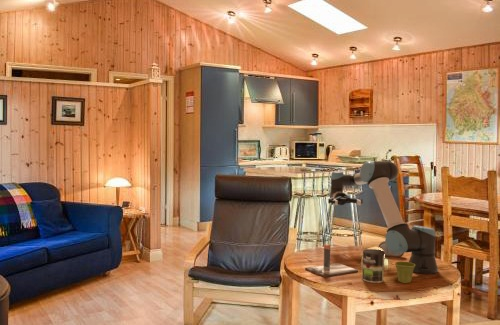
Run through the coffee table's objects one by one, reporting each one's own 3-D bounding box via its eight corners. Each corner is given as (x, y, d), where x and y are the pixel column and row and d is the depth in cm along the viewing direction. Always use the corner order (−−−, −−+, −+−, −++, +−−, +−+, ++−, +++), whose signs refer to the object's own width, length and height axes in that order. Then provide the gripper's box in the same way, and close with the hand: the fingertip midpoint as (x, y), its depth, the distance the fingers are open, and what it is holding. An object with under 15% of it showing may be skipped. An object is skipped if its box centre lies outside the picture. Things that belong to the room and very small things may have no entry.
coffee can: (376, 284, 234) (377, 255, 233) (358, 279, 241) (358, 251, 241) (387, 280, 241) (388, 251, 240) (369, 275, 249) (370, 248, 248)
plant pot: (414, 285, 233) (415, 267, 233) (393, 283, 237) (394, 265, 236) (414, 279, 242) (415, 262, 242) (394, 277, 245) (395, 260, 245)
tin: (404, 256, 289) (405, 242, 288) (404, 258, 286) (404, 243, 285) (378, 254, 294) (378, 240, 294) (377, 255, 291) (378, 241, 291)
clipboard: (358, 271, 255) (358, 267, 255) (324, 277, 244) (324, 273, 244) (338, 264, 269) (338, 260, 269) (305, 269, 258) (305, 265, 258)
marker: (331, 270, 253) (332, 245, 252) (326, 271, 251) (326, 245, 251) (327, 268, 256) (327, 243, 255) (322, 269, 254) (322, 244, 254)
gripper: (360, 204, 303) (370, 209, 282) (319, 204, 302) (326, 209, 280) (360, 192, 302) (370, 196, 281) (320, 192, 301) (327, 196, 280)
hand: (348, 203), depth 281 cm, fingers open, 13 cm apart
